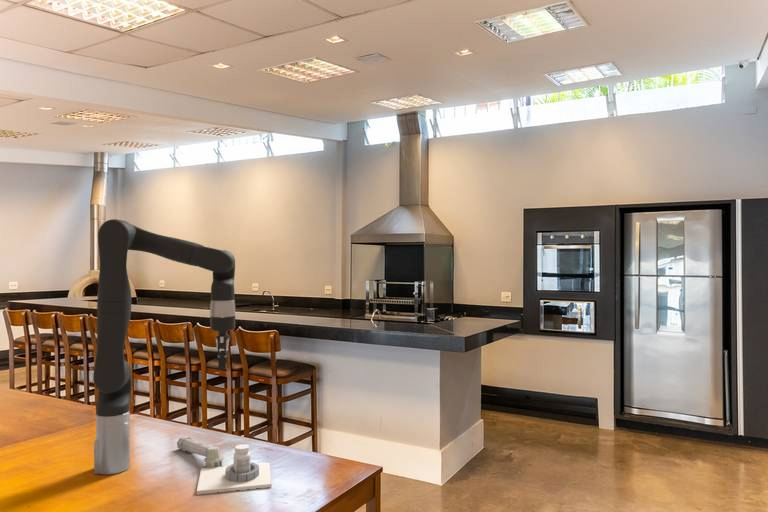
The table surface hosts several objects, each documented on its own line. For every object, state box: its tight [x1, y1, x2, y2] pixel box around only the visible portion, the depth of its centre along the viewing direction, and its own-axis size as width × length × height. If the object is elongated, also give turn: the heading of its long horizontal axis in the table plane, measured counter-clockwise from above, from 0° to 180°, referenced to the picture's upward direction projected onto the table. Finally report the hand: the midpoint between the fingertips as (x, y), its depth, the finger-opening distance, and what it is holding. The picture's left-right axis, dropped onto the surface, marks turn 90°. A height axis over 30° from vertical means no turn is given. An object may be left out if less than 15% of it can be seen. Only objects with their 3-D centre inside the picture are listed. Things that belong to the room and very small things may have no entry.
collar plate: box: [196, 461, 273, 495], centre depth 164 cm, size 20×16×3 cm
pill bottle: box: [233, 443, 251, 473], centre depth 165 cm, size 5×5×8 cm
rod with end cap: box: [176, 436, 224, 468], centre depth 180 cm, size 5×7×25 cm
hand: (222, 366), depth 176 cm, fingers open, 8 cm apart
